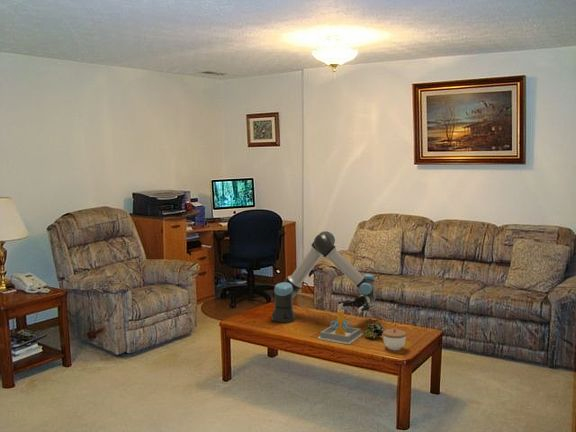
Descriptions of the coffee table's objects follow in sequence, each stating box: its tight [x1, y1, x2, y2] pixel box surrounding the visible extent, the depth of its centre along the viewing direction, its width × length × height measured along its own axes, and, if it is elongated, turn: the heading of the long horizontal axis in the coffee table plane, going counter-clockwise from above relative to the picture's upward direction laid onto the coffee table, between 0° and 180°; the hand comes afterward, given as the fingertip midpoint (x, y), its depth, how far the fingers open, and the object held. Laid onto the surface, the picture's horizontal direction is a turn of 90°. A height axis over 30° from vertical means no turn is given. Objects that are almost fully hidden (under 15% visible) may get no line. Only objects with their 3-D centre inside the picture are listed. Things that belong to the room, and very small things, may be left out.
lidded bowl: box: [382, 328, 407, 351], centre depth 320 cm, size 13×13×11 cm
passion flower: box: [362, 321, 385, 340], centre depth 337 cm, size 11×11×12 cm
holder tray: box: [317, 323, 364, 345], centre depth 340 cm, size 20×20×4 cm
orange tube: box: [329, 309, 352, 335], centre depth 339 cm, size 12×10×15 cm
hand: (348, 309), depth 347 cm, fingers open, 13 cm apart
